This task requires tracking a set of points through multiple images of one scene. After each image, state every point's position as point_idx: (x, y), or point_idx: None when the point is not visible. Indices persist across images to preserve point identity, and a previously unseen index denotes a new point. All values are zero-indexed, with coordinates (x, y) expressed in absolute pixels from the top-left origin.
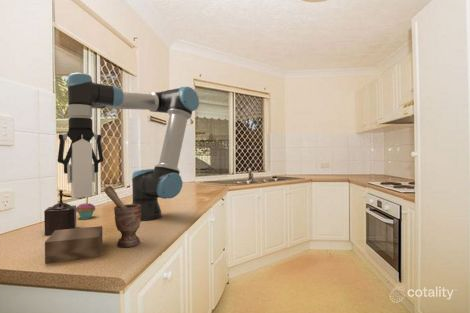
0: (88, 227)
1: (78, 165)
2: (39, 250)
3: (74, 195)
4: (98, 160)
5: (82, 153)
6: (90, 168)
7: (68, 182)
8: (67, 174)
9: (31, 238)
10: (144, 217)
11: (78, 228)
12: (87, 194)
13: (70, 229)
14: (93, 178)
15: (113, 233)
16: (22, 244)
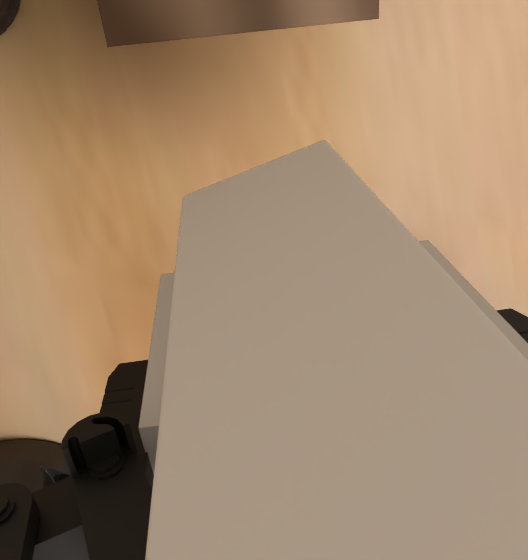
0: (190, 34)
1: (371, 303)
2: (418, 9)
3: (324, 145)
4: (60, 515)
5: (371, 525)
6: (189, 339)
7: (422, 243)
8: (472, 286)
9: (482, 244)
10: (12, 451)
11: (248, 23)
12: (221, 188)
13: (292, 10)
14: (168, 295)
15: (118, 236)
16: (506, 150)
